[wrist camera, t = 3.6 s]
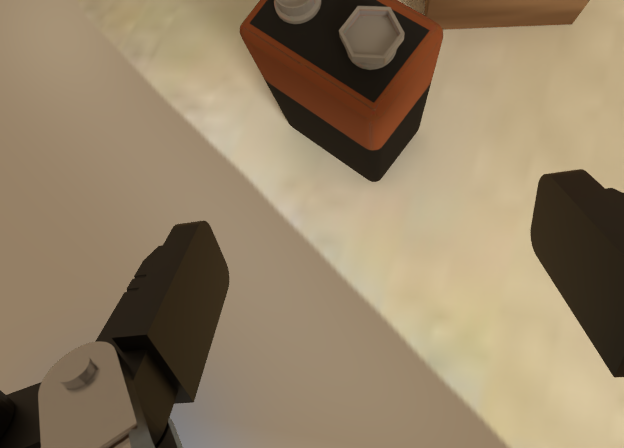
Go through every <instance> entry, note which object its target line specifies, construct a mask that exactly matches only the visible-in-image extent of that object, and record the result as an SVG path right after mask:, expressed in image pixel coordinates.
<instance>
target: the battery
mask: <svg viewBox="0 0 624 448" xmlns="http://www.w3.org/2000/svg"><path fill="white" fill-rule="evenodd" d="M240 34H241V37H242V39H243V41H244V43H245V44H246V46H247V48H248V50H249V52H250V54H251V55H252V57H253V59H254V61H255V63H256V65H257V66H258V68H259V70H260V72H261V74H262V75H263V77H264V79H265V81H266V83H267V85H268V86H269V88H270V90H271V92H272V94H273V96H274V97H275V99H276V101H277V103H278V105H279V106H280V108H281V110H282V112H283V114H284V116H285V117H286V119H287V121H288V123H289V124H290V125H291V126H292V127H293V128H295V129H296V130H297V131H299V132H300V133H302V134H303V135H305V136H306V137H307V138H309V139H310V140H312V141H313V142H315V143H316V144H317V145H319V146H320V147H322V148H323V149H325V150H326V151H328V152H329V153H330V154H332V155H333V156H335V157H336V158H338V159H339V160H340V161H342V162H343V163H345V164H346V165H348V166H349V167H350V168H352V169H353V170H355V171H356V172H358V173H359V174H361V175H362V176H363V177H365V178H366V179H368V180H370V181H372V182H376V181H379V180H380V179H381V178H382V177H383V175H384V174H385V173H386V172H387V170H388V169H389V168H390V166H391V165H392V164H393V162H394V161H395V160H396V158H397V157H398V156H399V155H400V153H401V152H402V151H403V149H404V148H405V147H406V145H407V144H408V143H409V141H410V140H411V139H412V138H413V136H414V135H415V134H416V132H417V131H418V129H419V126H420V122H421V118H422V114H423V111H424V107H425V103H426V99H427V96H428V92H429V88H430V84H431V81H432V77H433V73H434V69H435V66H436V62H437V58H438V54H439V51H440V47H441V43H442V39H443V30H442V28H441V26H440V25H439V24H438V23H436V22H435V21H433V20H431V19H429V18H428V17H426V16H424V15H422V14H421V13H419V12H417V11H415V10H413V9H412V8H410V7H408V6H406V5H404V4H403V3H401V2H399V1H397V0H260V1H259V2H258V4H257V5H256V6H255V8H254V9H253V10H252V11H251V13H250V14H249V15H248V17H247V18H246V19H245V20H244V22H243V23H242V25H241V26H240Z"/></svg>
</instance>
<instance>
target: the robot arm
mask: <svg viewBox="0 0 624 448" xmlns="http://www.w3.org/2000/svg"><path fill="white" fill-rule="evenodd" d="M531 242H532V246H533V249H534V252H535V254H536V256H537V257H538V259H539V261H540V262H541V264H542V265H543V267H544V268H545V270H546V272H547V273H548V275H549V276H550V278H551V279H552V281H553V282H554V284H555V286H556V287H557V289H558V290H559V292H560V293H561V295H562V297H563V298H564V300H565V301H566V303H567V304H568V306H569V307H570V309H571V311H572V312H573V314H574V315H575V317H576V318H577V320H578V322H579V323H580V325H581V326H582V328H583V329H584V331H585V332H586V334H587V336H588V337H589V339H590V340H591V342H592V343H593V345H594V347H595V348H596V350H597V351H598V353H599V354H600V356H601V358H602V359H603V361H604V362H605V364H606V365H607V367H608V368H609V370H610V372H611V373H612V375H613V376H614V377H624V193H622V192H620V191H617V190H615V189H613V188H607V189H605V188H604V187H603V186H601V185H600V184H599V183H598V182H597V181H596V180H595V179H594V178H593V177H592V176H591V175H590V174H588V173H587V172H586V171H585V170H581V169H579V170H572V171H565V172H558V173H551V174H544V175H543V176H542V177H541V178H540V180H539V183H538V189H537V195H536V201H535V207H534V213H533V219H532V225H531ZM134 277H135V279H132V281H131V282H130V284H129V286H128V287H127V292H125V293H124V294H123V296H122V298H121V299H120V301H119V303H118V304H117V306H116V308H115V309H114V311H113V313H112V314H111V316H110V318H109V320H108V321H107V323H106V325H105V326H104V328H103V330H102V331H101V333H100V335H99V336H98V338H97V340H96V341H95V342H92V343H88V344H85V345H82V346H80V347H78V348H76V349H74V350H72V351H71V352H69V353H68V354H66V355H65V356H64V357H62V358H61V359H60V360H59V361H58V362H57V363H56V364H55V365H54V366H53V367H52V368H51V369H50V370H49V371H48V373H47V374H46V376H45V377H44V379H43V381H42V382H41V383H38V384H35V385H33V386H30V387H27V388H24V389H22V390H19V391H16V392H13V393H11V394H8V395H5V394H4V393H3V392H2V391H0V448H183V447H182V444H181V441H180V439H179V436H178V434H177V431H176V428H175V426H174V423H173V421H172V420H171V419H170V417H169V416H170V413H171V411H172V408H173V404H174V403H190V402H194V399H195V396H196V393H197V390H198V386H199V382H200V379H201V376H202V373H203V370H204V366H205V363H206V360H207V357H208V353H209V350H210V347H211V343H212V340H213V337H214V333H215V330H216V327H217V324H218V320H219V317H220V314H221V310H222V307H223V304H224V300H225V297H226V294H227V290H228V287H229V271H228V267H227V264H226V261H225V259H224V257H223V255H222V252H221V250H220V247H219V245H218V243H217V241H216V238H215V236H214V234H213V232H212V229H211V227H210V225H209V224H208V223H207V222H206V221H198V222H191V223H183V224H177V225H175V226H174V227H173V229H172V230H171V232H170V234H169V236H168V237H167V239H166V241H165V243H164V244H163V246H158V247H157V248H156V249H155V250H154V251H153V252H152V253H151V254H150V255H149V256H148V257H147V258H146V259H145V260H144V261H143V262H142V264H141V266H140V267H139V269H138V271H137V272H136V274H135V276H134Z"/></svg>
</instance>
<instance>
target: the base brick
mask: <svg viewBox="0 0 624 448" xmlns="http://www.w3.org/2000/svg"><path fill="white" fill-rule="evenodd" d="M588 2H589V0H425V16H426V17H428V18H429V19H431V20H433V21H435V22H436V23H438V24H439V25H440V26H441V28H442V29H461V28H485V27H510V26H535V25H560V24H572V23H573V22H574V21H575V19H576V18H577V17H578V15H579V14H580V13H581V11H582V10H583V9H584V7H585V6H586V5H587V3H588Z"/></svg>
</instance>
